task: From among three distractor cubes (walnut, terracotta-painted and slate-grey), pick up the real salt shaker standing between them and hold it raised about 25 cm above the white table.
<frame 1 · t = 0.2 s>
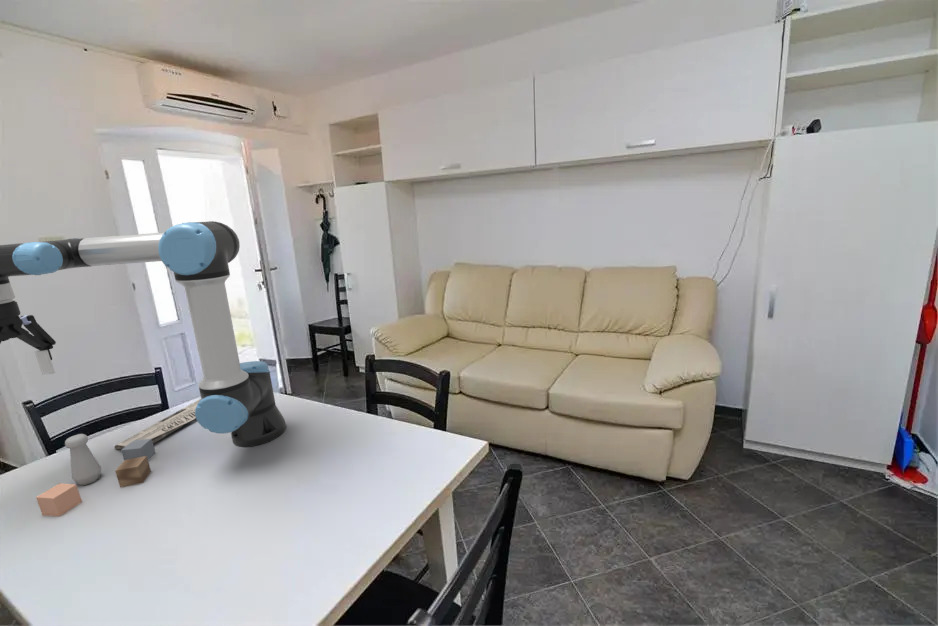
hand: (23, 384, 105), 28 cm above the table, fingers open, 13 cm apart
terracotta cube: (62, 508, 100), on the table
newspaper: (179, 425, 139), on the table
salt shaker: (89, 481, 111), on the table
walnut cube: (136, 479, 110), on the table
slate cube: (141, 459, 119), on the table
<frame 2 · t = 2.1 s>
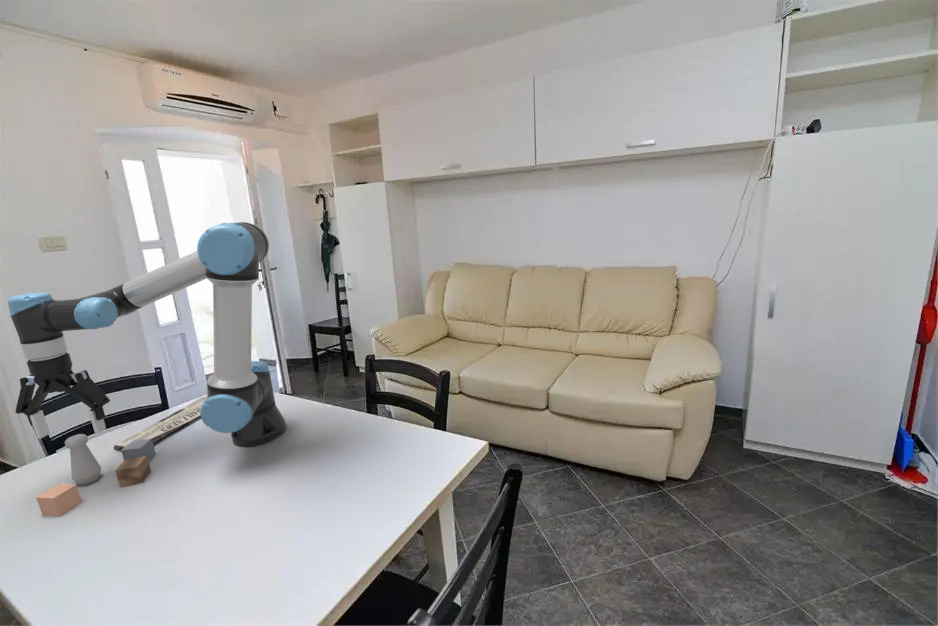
hand: (72, 433, 107), 14 cm above the table, fingers open, 13 cm apart
nothing on the table moved.
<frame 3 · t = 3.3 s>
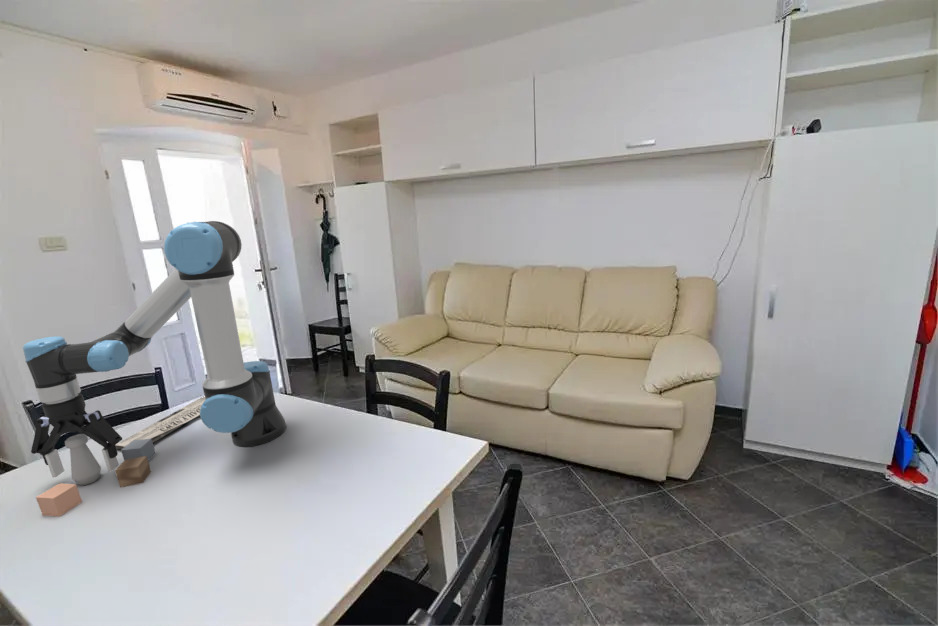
hand: (86, 471, 110), 3 cm above the table, fingers open, 13 cm apart
nothing on the table moved.
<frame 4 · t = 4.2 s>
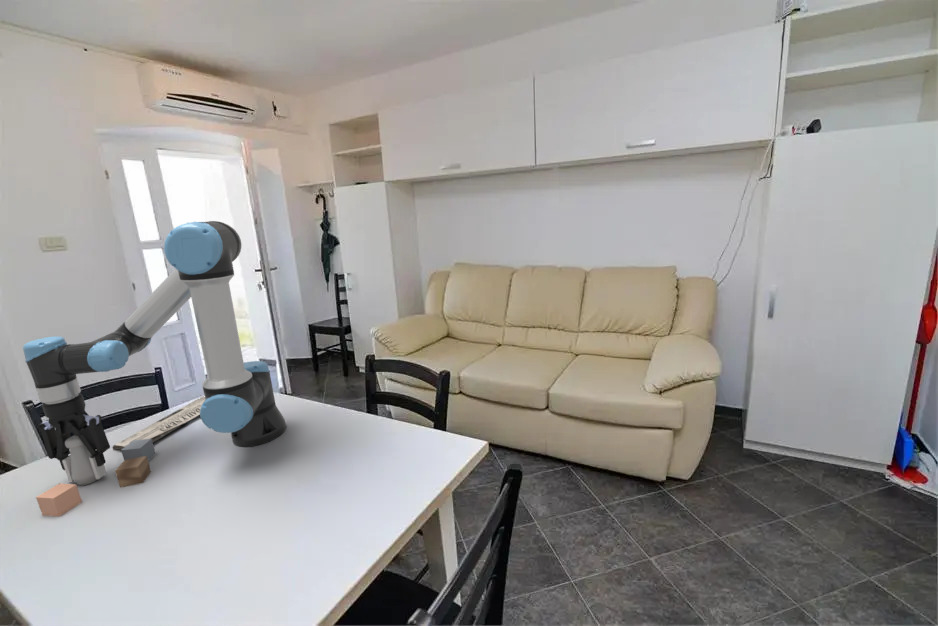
hand: (88, 477, 110), 1 cm above the table, fingers closed on salt shaker, 6 cm apart
salt shaker: (89, 480, 111), on the table, touching gripper
everything else where it was.
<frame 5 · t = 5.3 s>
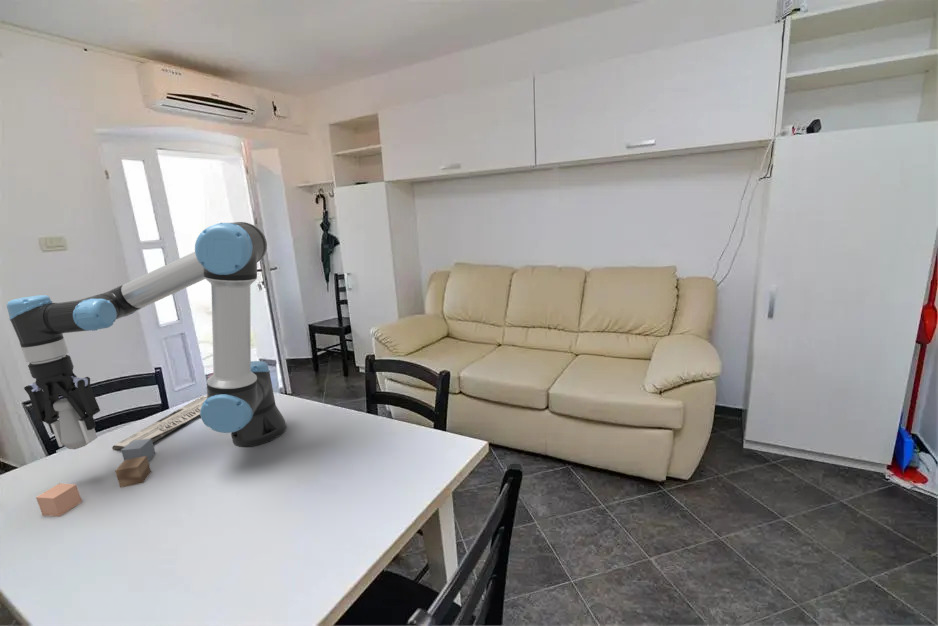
hand: (78, 442, 108), 11 cm above the table, fingers closed on salt shaker, 6 cm apart
salt shaker: (80, 445, 108), point 10 cm above the table, touching gripper
everything else where it was.
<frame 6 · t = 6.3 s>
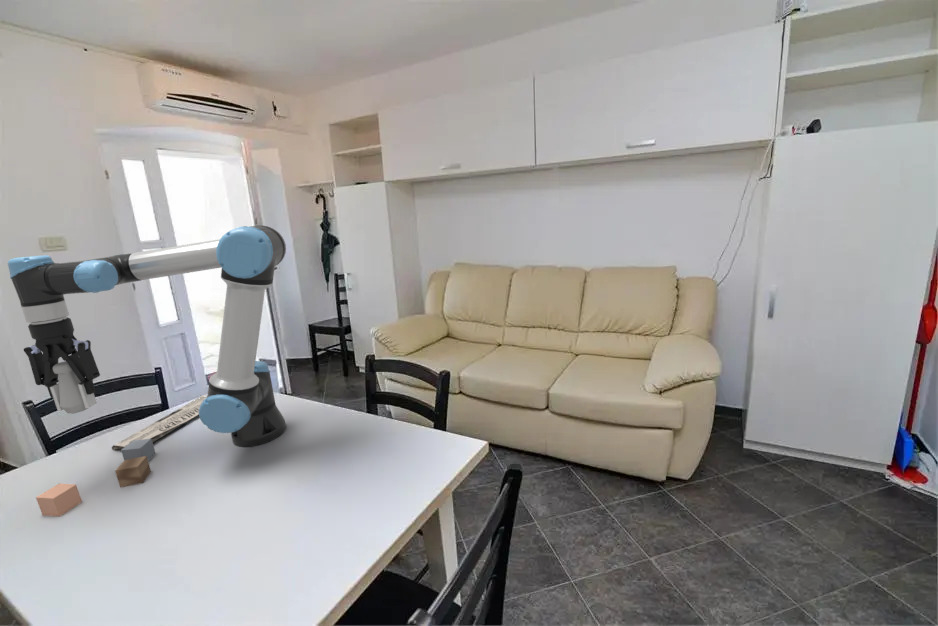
hand: (77, 406, 106), 21 cm above the table, fingers closed on salt shaker, 6 cm apart
salt shaker: (78, 410, 107), point 20 cm above the table, touching gripper
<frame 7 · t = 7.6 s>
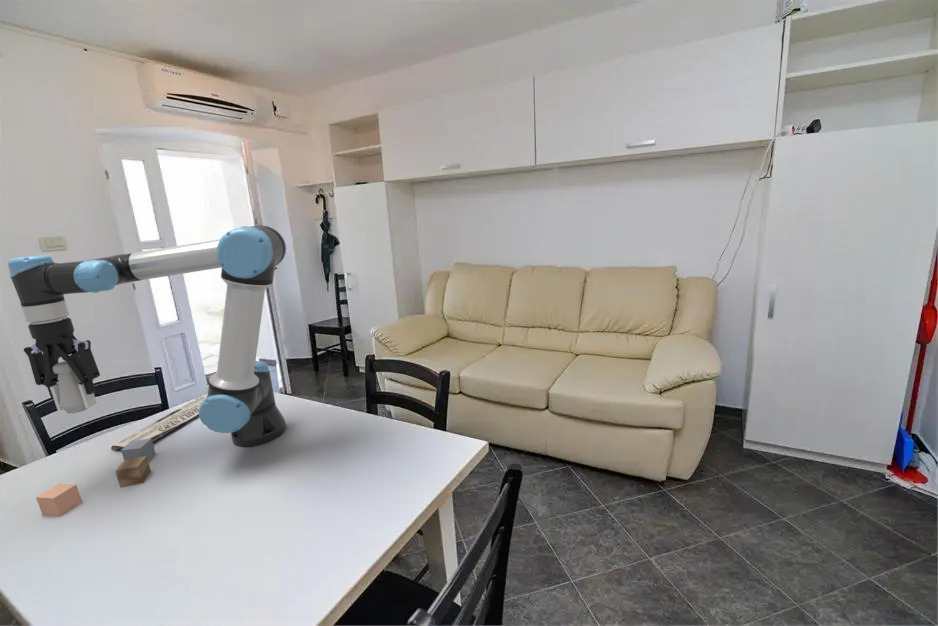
hand: (77, 406, 106), 21 cm above the table, fingers closed on salt shaker, 6 cm apart
salt shaker: (78, 410, 107), point 20 cm above the table, touching gripper
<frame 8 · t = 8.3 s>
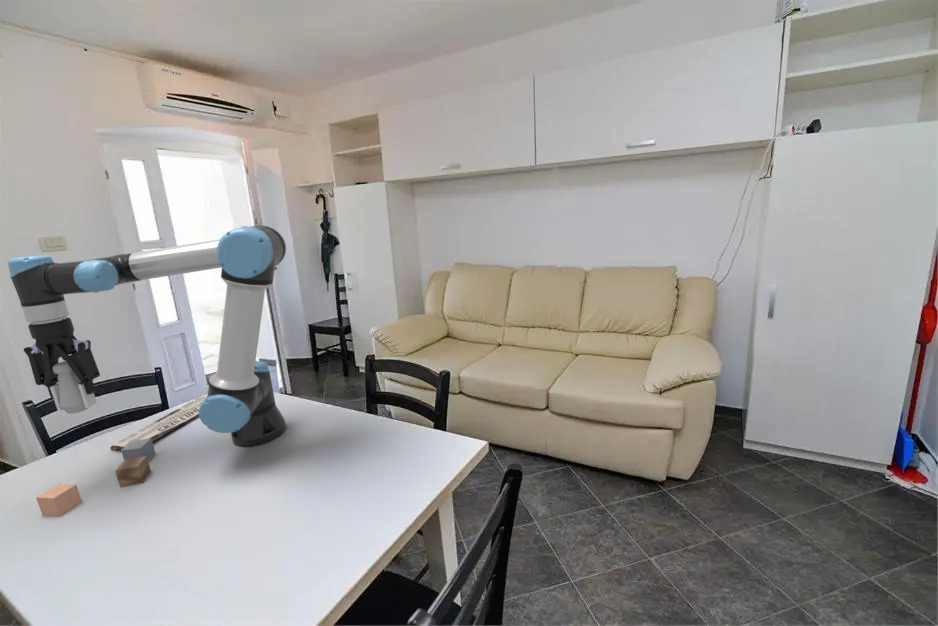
hand: (77, 406, 106), 21 cm above the table, fingers closed on salt shaker, 6 cm apart
salt shaker: (78, 410, 107), point 20 cm above the table, touching gripper
at the end: the gripper is holding salt shaker; salt shaker point 19.7 cm above the table; slate cube moved 0.1 cm from its start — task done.
